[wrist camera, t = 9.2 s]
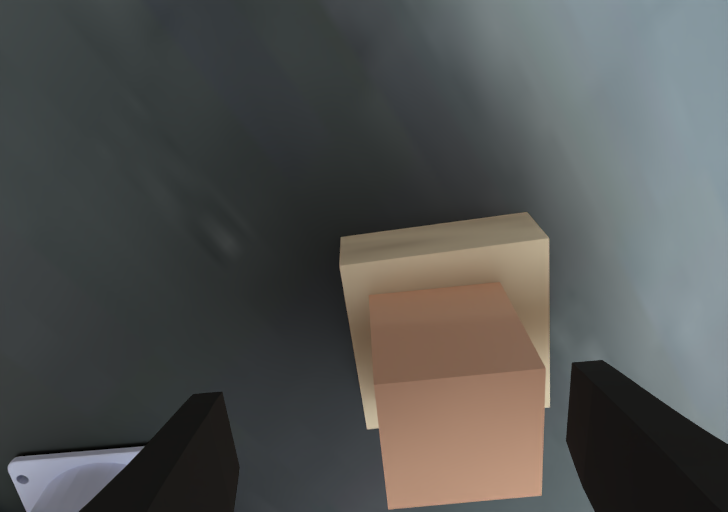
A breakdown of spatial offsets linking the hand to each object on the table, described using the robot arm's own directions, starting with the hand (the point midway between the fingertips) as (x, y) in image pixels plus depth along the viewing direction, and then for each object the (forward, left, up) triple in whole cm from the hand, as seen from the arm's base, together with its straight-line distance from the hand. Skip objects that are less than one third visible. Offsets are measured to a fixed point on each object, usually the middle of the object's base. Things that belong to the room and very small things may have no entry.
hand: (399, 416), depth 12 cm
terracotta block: (-4, -2, -8) cm, 9 cm away
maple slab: (-3, -2, -11) cm, 12 cm away
